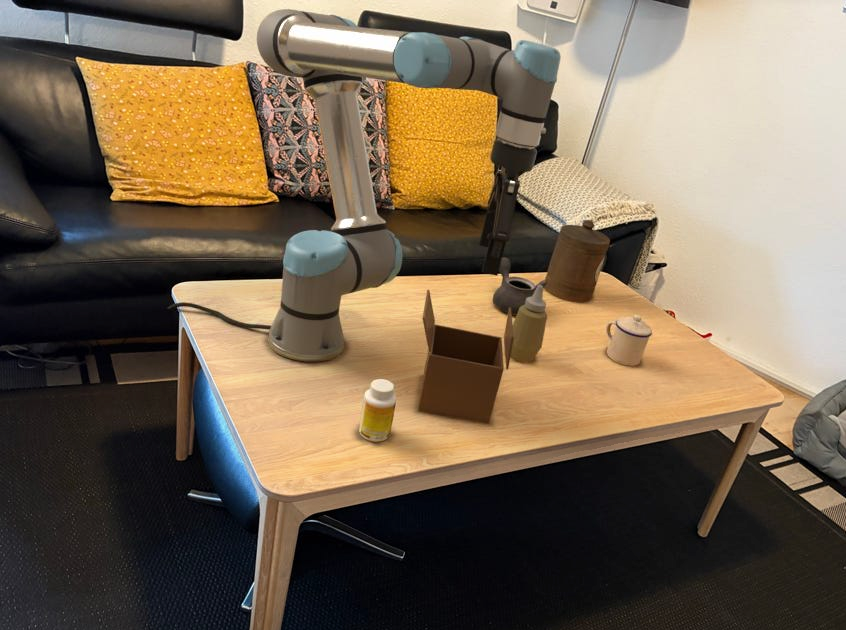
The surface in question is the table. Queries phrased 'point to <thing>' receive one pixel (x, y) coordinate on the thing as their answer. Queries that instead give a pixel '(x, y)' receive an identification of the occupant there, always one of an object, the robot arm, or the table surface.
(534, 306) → the squeeze bottle
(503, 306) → the teapot
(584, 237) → the wooden container
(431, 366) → the carton
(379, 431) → the supplement bottle
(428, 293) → the flap
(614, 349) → the teacup with lid
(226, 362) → the table surface
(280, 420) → the table surface
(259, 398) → the table surface
